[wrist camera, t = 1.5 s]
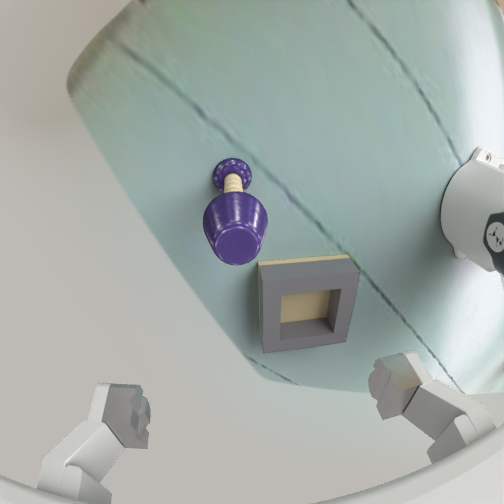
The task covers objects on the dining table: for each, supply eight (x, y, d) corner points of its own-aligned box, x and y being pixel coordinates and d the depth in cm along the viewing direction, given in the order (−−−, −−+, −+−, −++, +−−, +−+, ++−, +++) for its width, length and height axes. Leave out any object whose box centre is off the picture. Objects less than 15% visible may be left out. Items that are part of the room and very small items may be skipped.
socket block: (347, 254, 40) (360, 271, 36) (336, 322, 45) (345, 341, 41) (258, 261, 39) (262, 281, 35) (259, 331, 44) (263, 353, 40)
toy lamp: (233, 204, 35) (246, 289, 20) (199, 182, 33) (186, 254, 19) (259, 172, 33) (293, 235, 19) (224, 148, 32) (231, 192, 17)
